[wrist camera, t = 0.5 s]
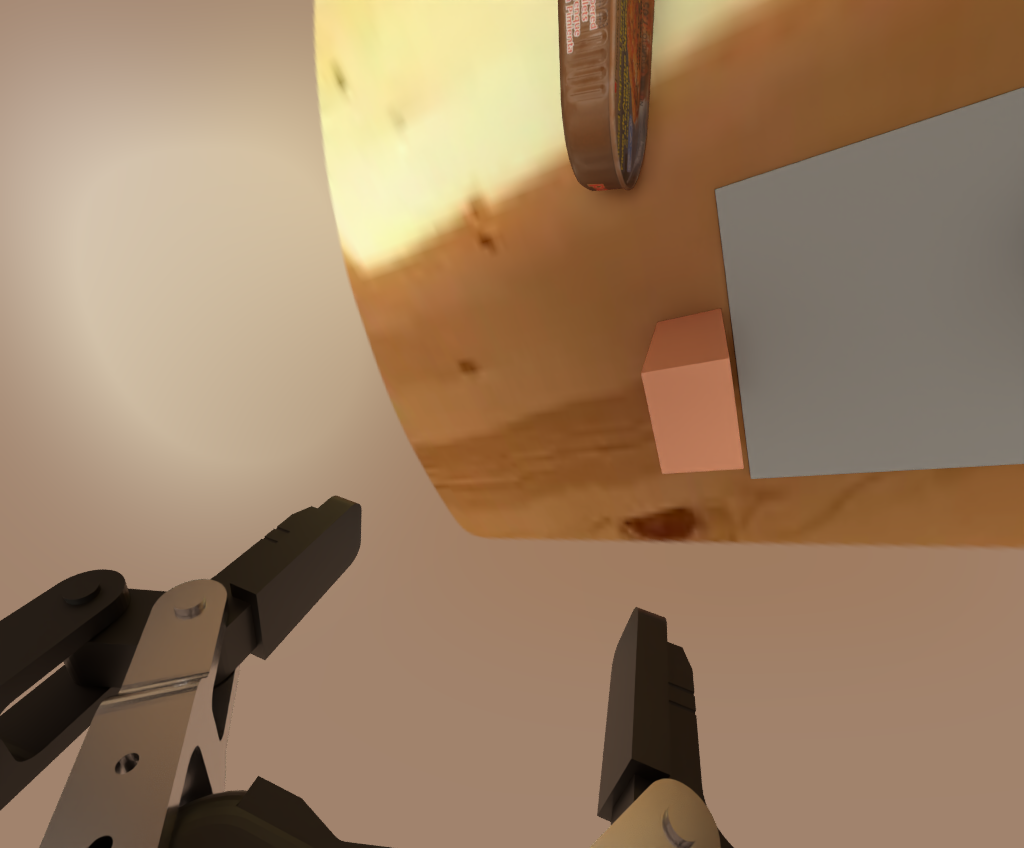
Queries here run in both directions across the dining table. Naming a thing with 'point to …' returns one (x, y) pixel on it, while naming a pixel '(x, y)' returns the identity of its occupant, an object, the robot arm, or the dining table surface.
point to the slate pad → (884, 299)
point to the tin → (605, 88)
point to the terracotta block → (692, 395)
